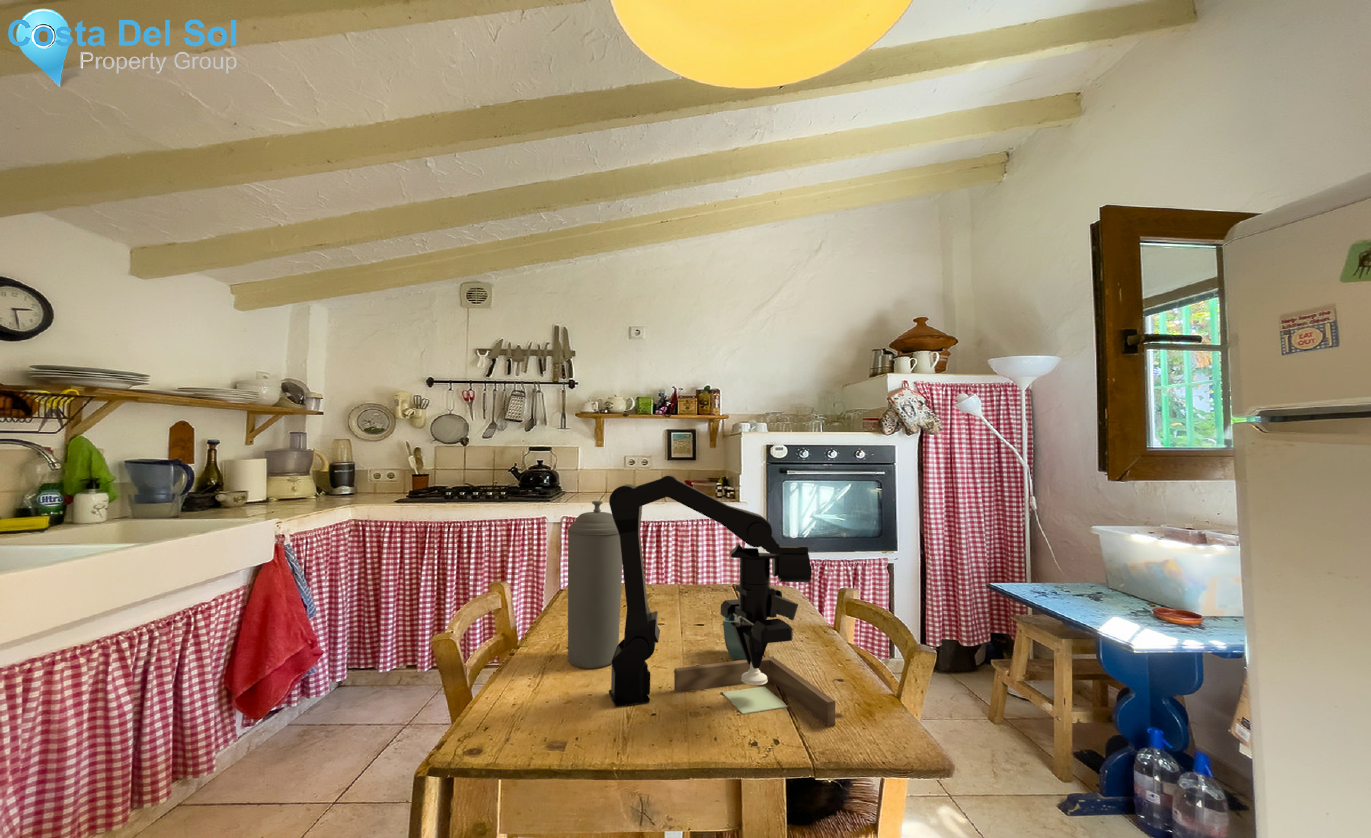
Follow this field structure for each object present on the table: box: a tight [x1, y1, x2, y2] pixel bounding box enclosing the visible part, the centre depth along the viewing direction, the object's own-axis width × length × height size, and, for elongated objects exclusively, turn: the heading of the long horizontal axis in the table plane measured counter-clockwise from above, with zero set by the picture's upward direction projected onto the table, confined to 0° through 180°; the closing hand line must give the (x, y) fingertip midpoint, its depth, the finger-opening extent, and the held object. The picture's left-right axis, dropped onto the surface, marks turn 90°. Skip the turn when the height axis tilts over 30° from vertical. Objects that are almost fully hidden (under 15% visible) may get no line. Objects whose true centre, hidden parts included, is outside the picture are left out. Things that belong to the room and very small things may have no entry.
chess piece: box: [741, 662, 769, 686], centre depth 103 cm, size 5×5×10 cm
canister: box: [567, 500, 623, 669], centre depth 122 cm, size 13×13×35 cm
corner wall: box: [673, 656, 836, 728], centre depth 100 cm, size 22×22×4 cm
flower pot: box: [722, 614, 746, 660], centre depth 125 cm, size 9×9×9 cm
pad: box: [722, 686, 789, 715], centre depth 102 cm, size 9×9×1 cm
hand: (753, 666), depth 103 cm, fingers closed on chess piece
